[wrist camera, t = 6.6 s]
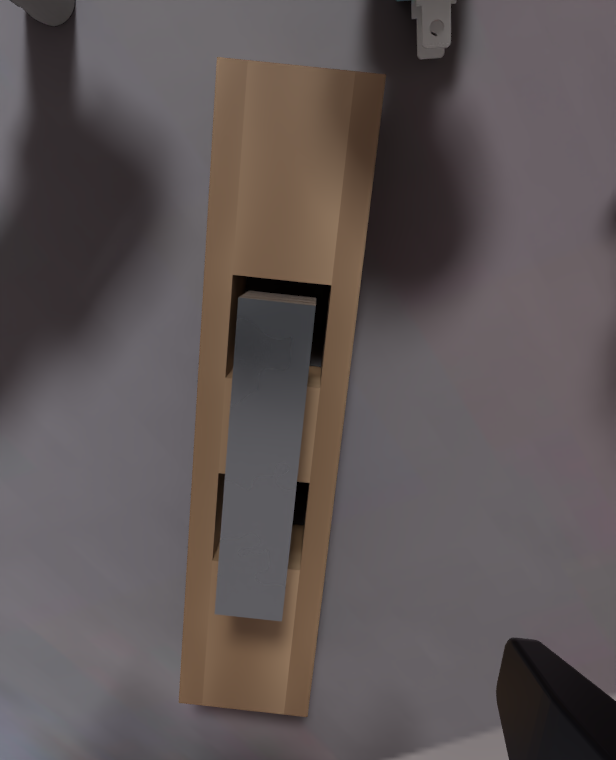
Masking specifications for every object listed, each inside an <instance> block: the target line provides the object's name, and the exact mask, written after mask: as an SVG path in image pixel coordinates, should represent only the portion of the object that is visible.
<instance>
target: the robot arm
mask: <svg viewBox="0 0 616 760" xmlns="http://www.w3.org/2000/svg"><path fill="white" fill-rule="evenodd" d="M496 698H497V705H498V710H499V715H500V720H501V724H502V729H503V734H504V738H505V743H506V748H507V752H508V757H509V760H616V701H615V700H614V699H612V698H611V697H610V696H609V695H607V694H606V693H605V692H603V691H602V690H601V689H600V688H598V687H597V686H596V685H595V684H593V683H592V682H591V681H589V680H588V679H587V678H586V677H584V676H583V675H582V674H580V673H579V672H578V671H577V670H575V669H574V668H573V667H572V666H570V665H569V664H568V663H566V662H565V661H564V660H563V659H561V658H560V657H559V656H558V655H556V654H555V653H554V652H552V651H551V650H550V649H549V648H547V647H546V646H545V645H543V644H542V643H541V642H539V641H537V640H532V639H523V638H511V639H509V640H508V641H507V643H506V645H505V649H504V653H503V658H502V663H501V667H500V672H499V677H498V681H497V688H496Z"/></svg>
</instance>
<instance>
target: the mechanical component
mask: <svg viewBox="0 0 616 760" xmlns="http://www.w3.org/2000/svg"><path fill="white" fill-rule="evenodd" d="M10 1H11V2H13V3H14V4H15V5H17V6H18V7H21V8H23V9H24V10H25V11H26V12H28V13H29V15H30V16H31V17H33V18H34V19H36V20H37V21H39V22H42V23H44V24H47V25H50V26H58V25H60V24H62V23H64V22H65V21H66V20H67V19H68V18H69V17H70V16H71V14H72V12H73V9H74V5H75V0H10Z"/></svg>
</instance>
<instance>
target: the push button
mask: <svg viewBox="0 0 616 760" xmlns="http://www.w3.org/2000/svg"><path fill="white" fill-rule="evenodd" d="M397 1H408V0H397ZM451 4H456V0H411V13H412V19H417V57H418V58H419V59H434V58H441V57H442V56H443V55H444V48H447V47H448V46H449V45H450V44H451ZM430 32H432V33H435V34H436V36H434V35H432V34H431V33H430Z"/></svg>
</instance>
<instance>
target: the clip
mask: <svg viewBox="0 0 616 760" xmlns="http://www.w3.org/2000/svg"><path fill="white" fill-rule="evenodd" d="M315 308H316V298H313V297H304V296H294V295H285V294H276V293H266V292H257V291H248V292H246V293H245V294H243V295H241V296H240V297H238V309H237V322H236V335H235V349H234V362H233V375H232V388H231V402H230V415H229V428H228V442H227V455H226V468H225V481H224V495H223V508H222V521H221V534H220V548H219V561H218V574H217V588H216V601H215V614H217V615H226V616H236V617H245V618H254V619H264V620H273V621H282V616H283V607H284V598H285V588H286V579H287V570H288V560H289V551H290V542H291V532H292V523H293V514H294V504H295V495H296V486H297V476H298V467H299V458H300V448H301V439H302V430H303V420H304V411H305V402H306V392H307V383H308V374H309V364H310V355H311V346H312V336H313V327H314V317H315Z"/></svg>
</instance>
